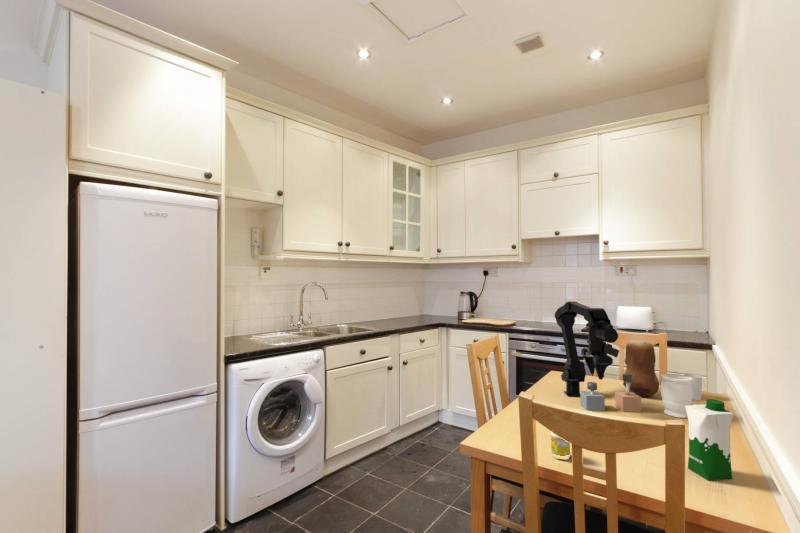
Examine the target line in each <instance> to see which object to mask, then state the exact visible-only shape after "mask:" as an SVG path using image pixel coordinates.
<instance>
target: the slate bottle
mask: <svg viewBox="0 0 800 533" xmlns="http://www.w3.org/2000/svg"><path fill="white" fill-rule="evenodd" d="M580 394H581V397H580V406H581V407H582V408H583V409H584V410H585V411H586V410H589V411H588V412H605V411H606V410H605V409H606V408H605V407H606V406H605V404H606V402H605V401H606V399H605V395H603V394H602V393H601V392H600V391H598V390H594V394H591V390H580Z"/></svg>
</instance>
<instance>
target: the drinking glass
mask: <svg viewBox="0 0 800 533" xmlns="http://www.w3.org/2000/svg"><path fill="white" fill-rule="evenodd" d="M683 375H685V376H688V377H691V378H692V382H691V385H692V391H693V398H692V401H701V400H702V392H703V391H702V386H703V376H702V375H699V374H694V373H684V374H683Z"/></svg>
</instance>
